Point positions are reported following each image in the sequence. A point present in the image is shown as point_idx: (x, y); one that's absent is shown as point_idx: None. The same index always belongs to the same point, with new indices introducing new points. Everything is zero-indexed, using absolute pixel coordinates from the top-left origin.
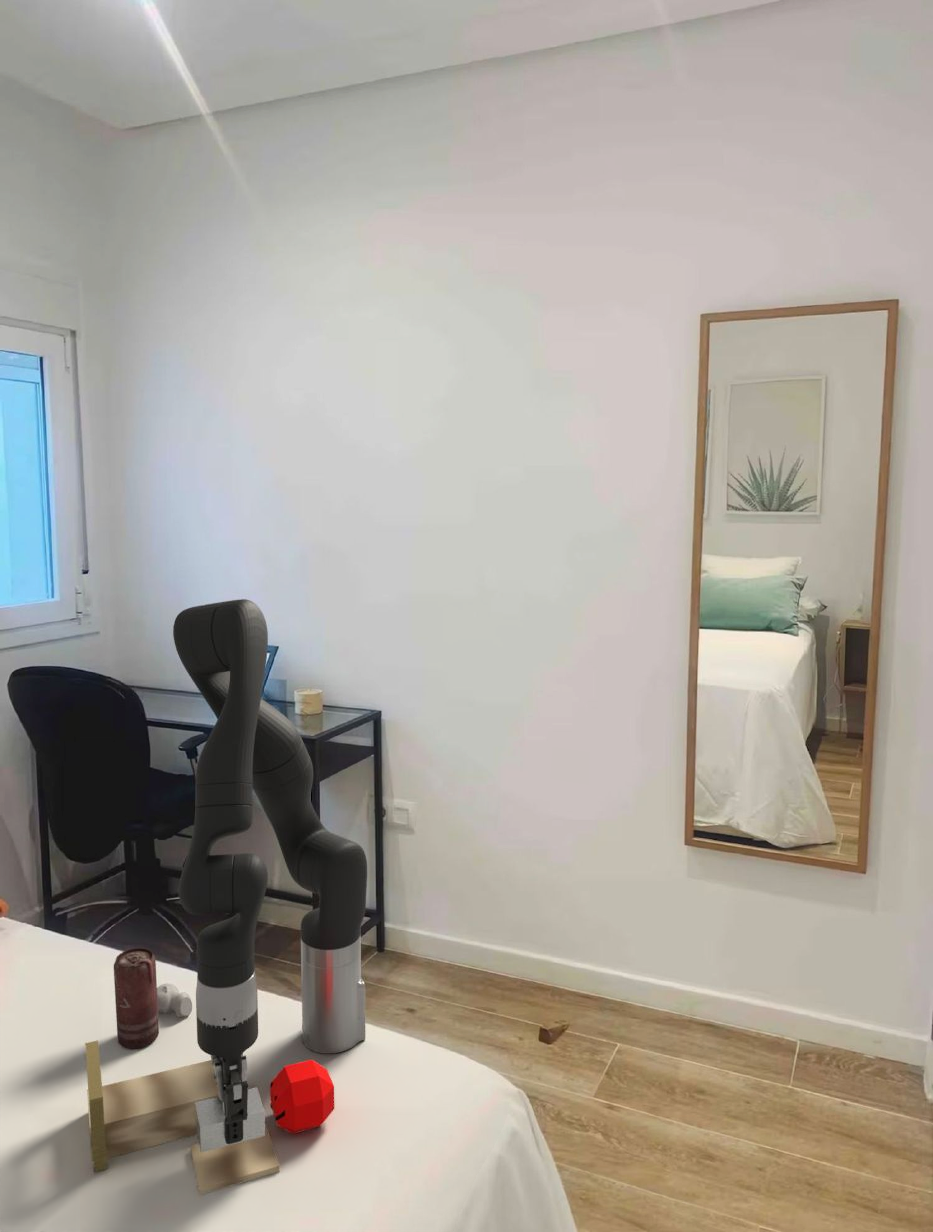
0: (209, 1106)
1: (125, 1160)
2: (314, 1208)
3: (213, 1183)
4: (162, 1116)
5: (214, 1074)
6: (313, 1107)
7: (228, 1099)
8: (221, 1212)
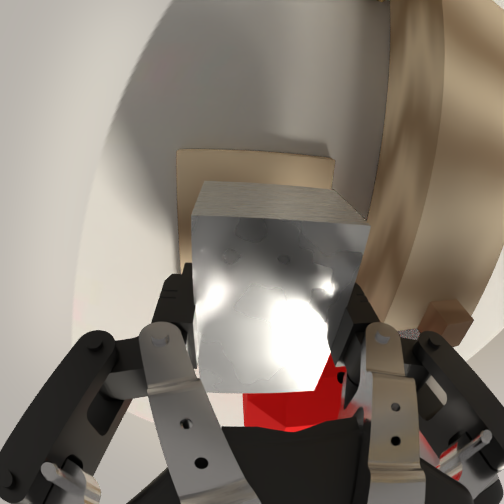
0: (312, 273)
1: (369, 31)
2: (95, 322)
3: (181, 185)
4: (425, 120)
5: (371, 394)
6: (244, 408)
7: (8, 444)
8: (115, 187)
